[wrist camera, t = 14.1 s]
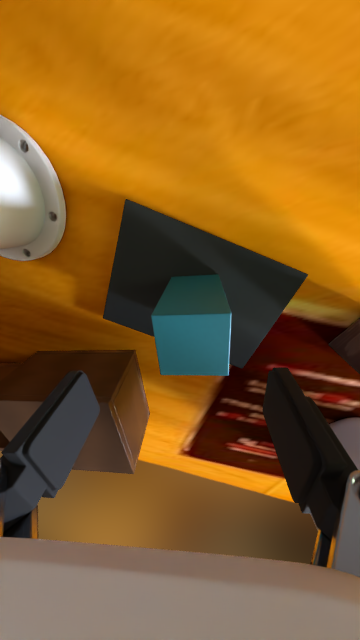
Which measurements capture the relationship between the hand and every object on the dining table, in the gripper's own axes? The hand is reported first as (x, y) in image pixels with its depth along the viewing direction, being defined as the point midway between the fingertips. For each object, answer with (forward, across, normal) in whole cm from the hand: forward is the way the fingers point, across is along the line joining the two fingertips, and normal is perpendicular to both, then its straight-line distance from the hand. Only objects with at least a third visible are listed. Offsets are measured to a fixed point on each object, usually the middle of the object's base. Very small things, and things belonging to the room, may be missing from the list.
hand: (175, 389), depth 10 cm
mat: (+14, -1, +1) cm, 14 cm away
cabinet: (+15, +16, +15) cm, 26 cm away
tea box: (+14, -1, 0) cm, 14 cm away
